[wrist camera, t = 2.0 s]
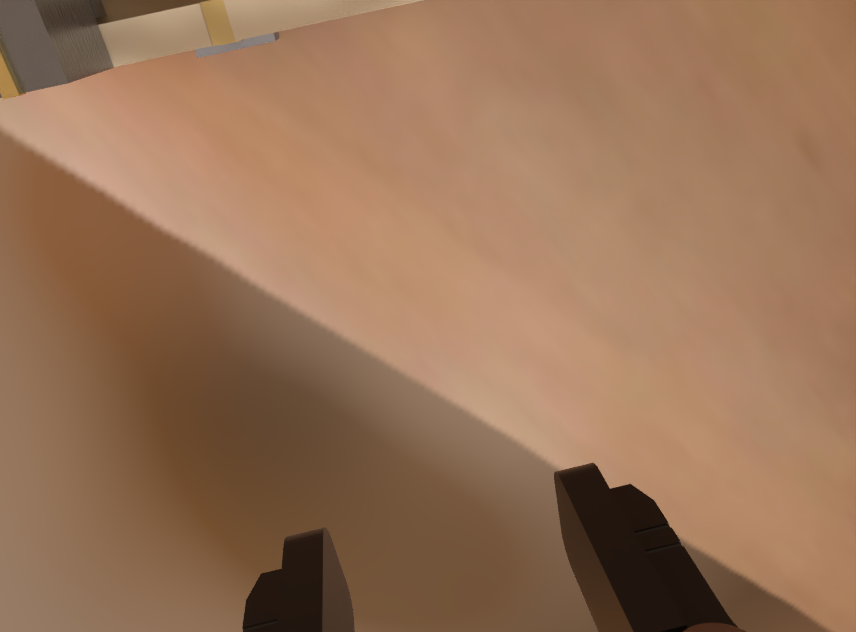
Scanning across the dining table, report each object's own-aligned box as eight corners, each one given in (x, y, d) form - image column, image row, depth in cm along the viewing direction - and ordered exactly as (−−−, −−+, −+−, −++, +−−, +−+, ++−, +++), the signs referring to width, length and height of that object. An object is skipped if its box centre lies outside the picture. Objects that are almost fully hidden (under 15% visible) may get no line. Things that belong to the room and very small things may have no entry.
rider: (-22, -63, 29) (-137, -81, 22) (70, -82, 30) (-14, -107, 22) (41, 83, 32) (-44, 109, 25) (125, 64, 32) (65, 85, 25)
